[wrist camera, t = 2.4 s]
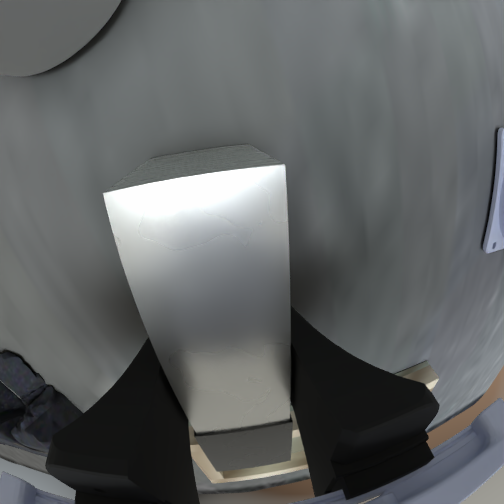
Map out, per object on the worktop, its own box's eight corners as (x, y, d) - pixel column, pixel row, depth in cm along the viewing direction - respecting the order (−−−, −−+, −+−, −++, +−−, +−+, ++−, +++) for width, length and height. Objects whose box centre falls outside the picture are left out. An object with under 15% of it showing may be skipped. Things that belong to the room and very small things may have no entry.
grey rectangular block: (148, 158, 9) (97, 196, 5) (250, 143, 9) (291, 165, 5) (209, 394, 15) (216, 471, 10) (270, 385, 15) (290, 460, 11)
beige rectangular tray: (426, 360, 18) (439, 377, 16) (395, 419, 22) (403, 433, 20) (182, 420, 16) (183, 445, 14) (210, 465, 20) (212, 483, 18)
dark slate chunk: (-72, 355, 11) (-88, 383, 7) (28, 339, 12) (-1, 398, 8) (8, 440, 18) (1, 468, 14) (142, 455, 19) (140, 498, 15)
